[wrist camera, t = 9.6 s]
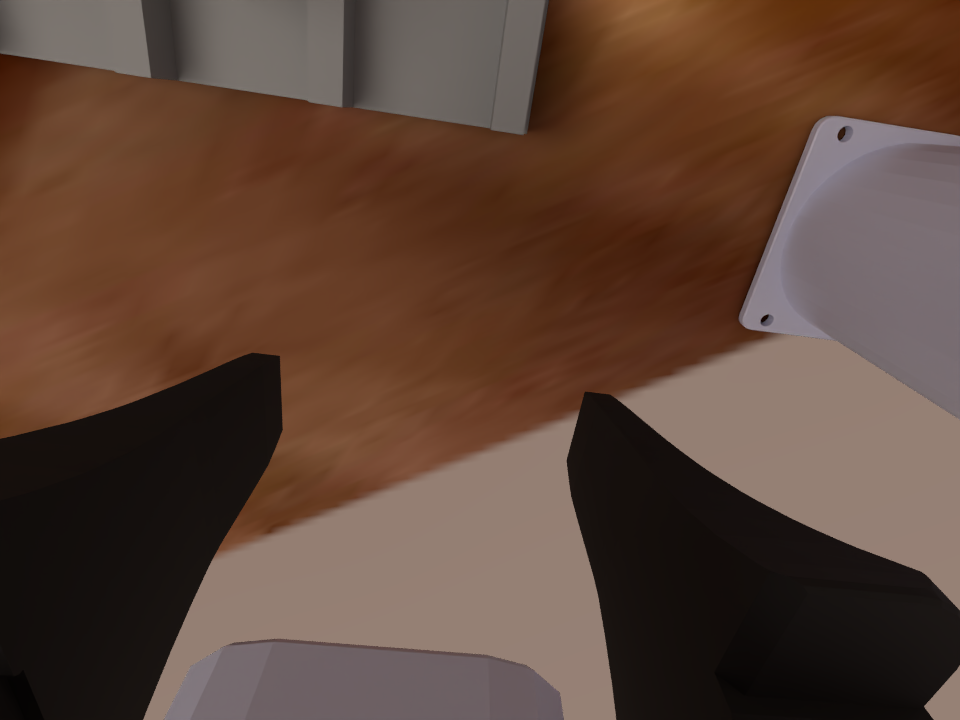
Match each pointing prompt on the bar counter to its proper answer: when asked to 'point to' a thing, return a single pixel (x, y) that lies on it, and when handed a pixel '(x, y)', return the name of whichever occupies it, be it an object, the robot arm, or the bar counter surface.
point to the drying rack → (308, 49)
